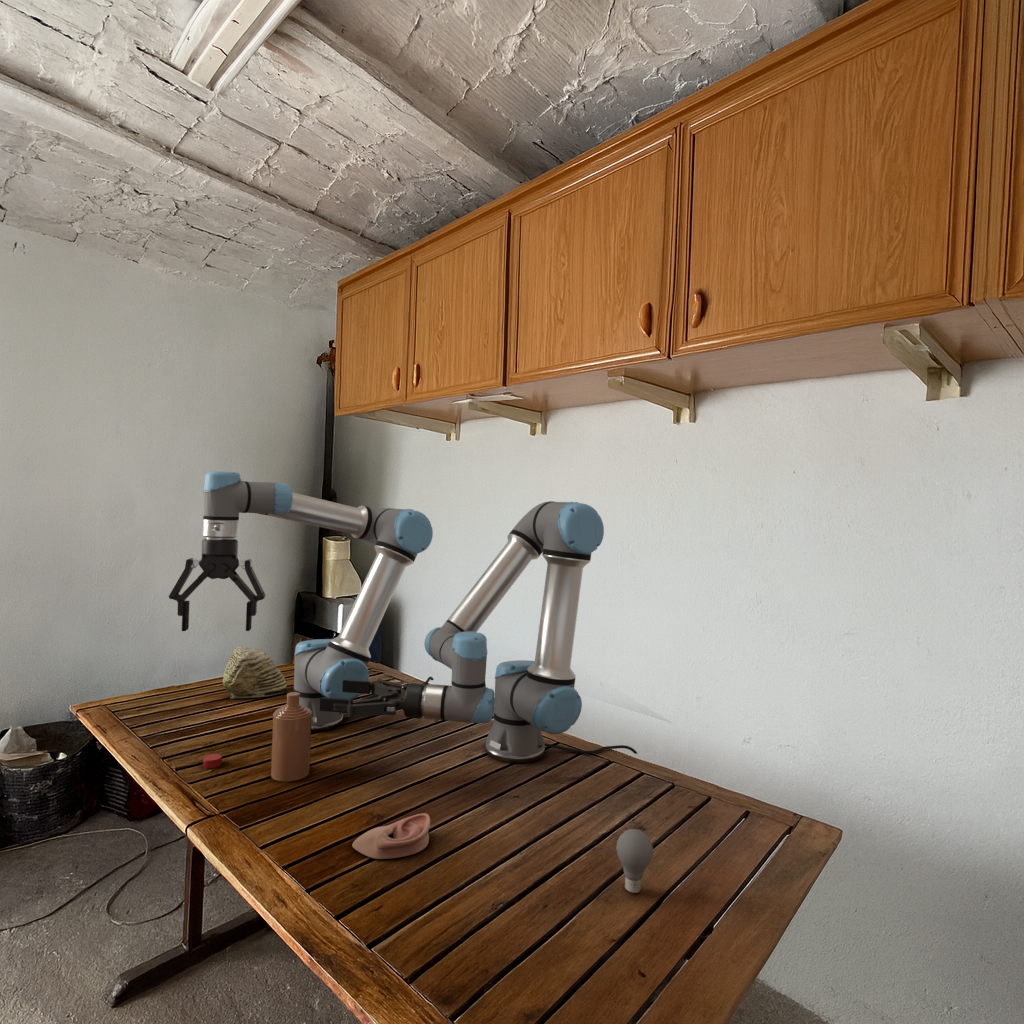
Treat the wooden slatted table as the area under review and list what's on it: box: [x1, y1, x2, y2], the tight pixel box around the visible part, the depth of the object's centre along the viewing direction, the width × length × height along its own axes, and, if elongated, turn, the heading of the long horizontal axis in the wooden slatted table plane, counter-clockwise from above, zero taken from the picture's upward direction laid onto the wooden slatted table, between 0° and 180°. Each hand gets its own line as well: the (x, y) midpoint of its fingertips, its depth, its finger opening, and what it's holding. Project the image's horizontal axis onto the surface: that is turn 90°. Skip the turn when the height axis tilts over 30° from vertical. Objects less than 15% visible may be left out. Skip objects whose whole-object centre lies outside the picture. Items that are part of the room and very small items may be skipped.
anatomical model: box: [351, 812, 431, 860], centre depth 117 cm, size 13×4×12 cm
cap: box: [202, 753, 223, 769], centre depth 147 cm, size 4×4×2 cm
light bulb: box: [615, 828, 654, 894], centre depth 106 cm, size 6×6×10 cm
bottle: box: [270, 691, 312, 783], centre depth 144 cm, size 8×8×18 cm
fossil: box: [222, 646, 288, 699], centre depth 198 cm, size 9×18×15 cm, turn 132°
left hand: (217, 630), depth 146 cm, fingers open, 13 cm apart
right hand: (332, 694), depth 143 cm, fingers open, 13 cm apart
